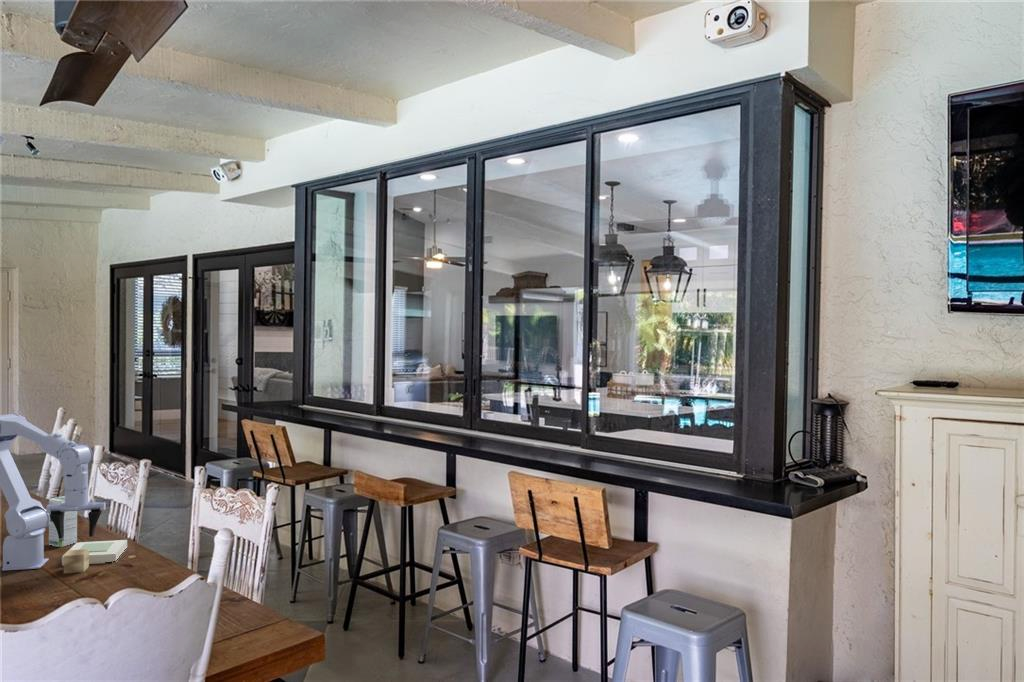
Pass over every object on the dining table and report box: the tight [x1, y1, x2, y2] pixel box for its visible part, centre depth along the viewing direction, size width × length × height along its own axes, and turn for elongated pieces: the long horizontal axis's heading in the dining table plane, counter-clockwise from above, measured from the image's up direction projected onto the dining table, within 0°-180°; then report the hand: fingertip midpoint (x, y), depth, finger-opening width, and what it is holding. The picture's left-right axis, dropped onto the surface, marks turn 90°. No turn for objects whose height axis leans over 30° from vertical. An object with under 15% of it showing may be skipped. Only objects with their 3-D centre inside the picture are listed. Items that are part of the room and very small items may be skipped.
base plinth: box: [61, 539, 128, 567], centre depth 225 cm, size 14×14×3 cm
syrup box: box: [48, 495, 78, 548], centre depth 236 cm, size 6×6×14 cm
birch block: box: [63, 549, 90, 574], centre depth 213 cm, size 5×5×5 cm
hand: (76, 536), depth 213 cm, fingers open, 7 cm apart
